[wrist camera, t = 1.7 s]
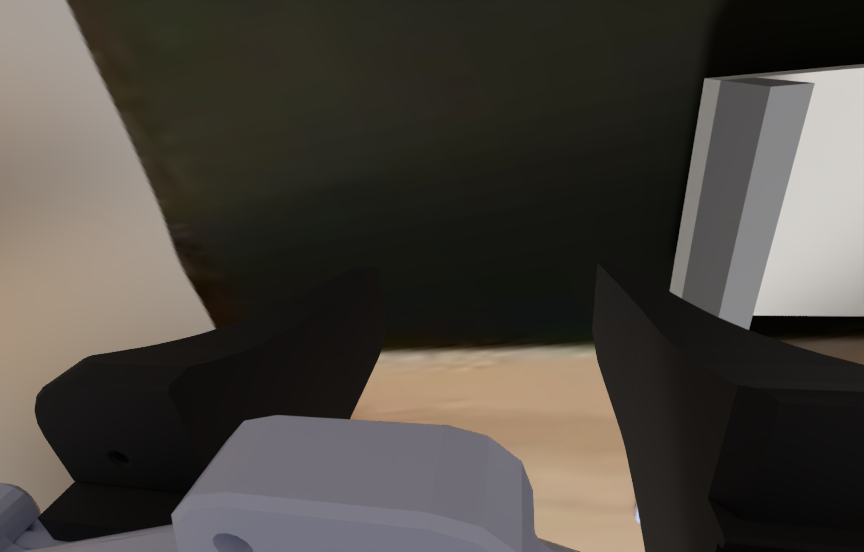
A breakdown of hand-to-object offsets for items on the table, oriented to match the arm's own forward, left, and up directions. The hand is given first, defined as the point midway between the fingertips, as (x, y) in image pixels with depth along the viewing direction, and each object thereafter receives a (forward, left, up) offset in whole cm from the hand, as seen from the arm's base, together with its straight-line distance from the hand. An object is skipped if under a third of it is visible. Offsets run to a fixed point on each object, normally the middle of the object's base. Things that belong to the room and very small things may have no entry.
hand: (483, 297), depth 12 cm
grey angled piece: (0, -13, -9) cm, 16 cm away
